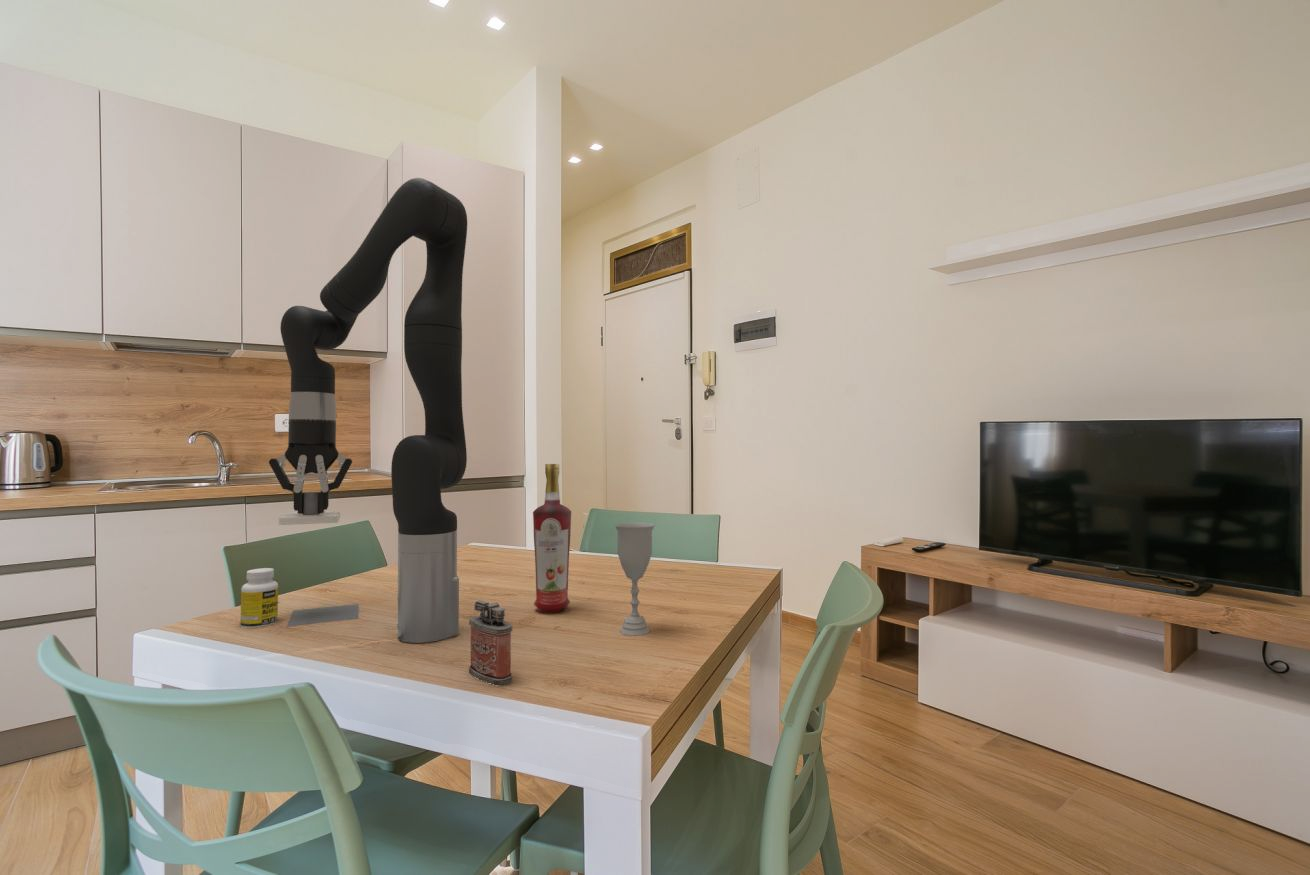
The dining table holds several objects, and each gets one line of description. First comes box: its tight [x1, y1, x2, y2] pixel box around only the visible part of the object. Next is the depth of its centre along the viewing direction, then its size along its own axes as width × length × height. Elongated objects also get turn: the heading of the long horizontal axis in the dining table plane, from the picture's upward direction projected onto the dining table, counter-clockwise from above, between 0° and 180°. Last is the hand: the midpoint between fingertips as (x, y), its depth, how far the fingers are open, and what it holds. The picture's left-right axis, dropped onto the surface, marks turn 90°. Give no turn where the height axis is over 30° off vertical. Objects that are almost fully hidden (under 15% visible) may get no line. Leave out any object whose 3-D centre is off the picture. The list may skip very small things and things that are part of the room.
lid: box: [278, 491, 341, 526], centre depth 109 cm, size 9×9×5 cm
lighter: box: [468, 599, 513, 686], centre depth 82 cm, size 8×3×10 cm, turn 48°
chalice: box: [614, 521, 656, 636], centre depth 102 cm, size 7×7×18 cm
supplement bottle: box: [240, 567, 279, 629], centre depth 105 cm, size 5×5×10 cm
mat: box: [286, 603, 360, 628], centre depth 110 cm, size 11×11×1 cm
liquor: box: [532, 463, 572, 614], centre depth 115 cm, size 7×7×28 cm
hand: (311, 512), depth 109 cm, fingers closed on lid, 2 cm apart
